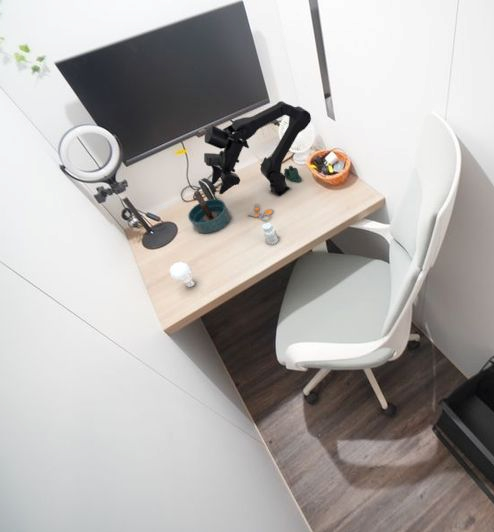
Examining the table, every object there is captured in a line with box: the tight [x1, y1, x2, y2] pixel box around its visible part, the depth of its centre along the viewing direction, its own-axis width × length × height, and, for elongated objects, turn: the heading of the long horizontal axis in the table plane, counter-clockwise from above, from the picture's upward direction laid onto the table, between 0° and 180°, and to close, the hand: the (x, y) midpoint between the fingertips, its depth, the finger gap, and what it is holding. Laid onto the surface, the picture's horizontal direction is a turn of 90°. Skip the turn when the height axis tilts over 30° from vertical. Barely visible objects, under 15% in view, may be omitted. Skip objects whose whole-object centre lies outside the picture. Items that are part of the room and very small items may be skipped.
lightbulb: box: [169, 261, 196, 288], centre depth 109 cm, size 6×6×11 cm
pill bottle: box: [262, 222, 279, 245], centre depth 121 cm, size 4×4×8 cm
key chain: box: [248, 203, 273, 222], centre depth 135 cm, size 13×7×1 cm, turn 54°
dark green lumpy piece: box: [283, 165, 303, 183], centre depth 149 cm, size 11×4×5 cm, turn 48°
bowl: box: [188, 198, 231, 234], centre depth 133 cm, size 15×15×6 cm
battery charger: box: [198, 177, 218, 200], centre depth 141 cm, size 7×4×11 cm, turn 49°
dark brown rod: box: [193, 190, 218, 222], centre depth 130 cm, size 6×6×15 cm
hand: (216, 188), depth 128 cm, fingers open, 9 cm apart
